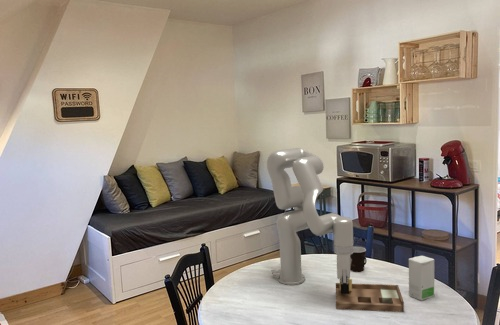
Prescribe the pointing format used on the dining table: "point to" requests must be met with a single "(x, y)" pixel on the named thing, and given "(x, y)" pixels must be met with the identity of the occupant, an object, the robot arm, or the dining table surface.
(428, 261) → the skincare box
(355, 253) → the coffee mug
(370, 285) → the board
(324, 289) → the dining table surface
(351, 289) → the ochre block
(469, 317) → the dining table surface
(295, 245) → the robot arm
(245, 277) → the dining table surface
